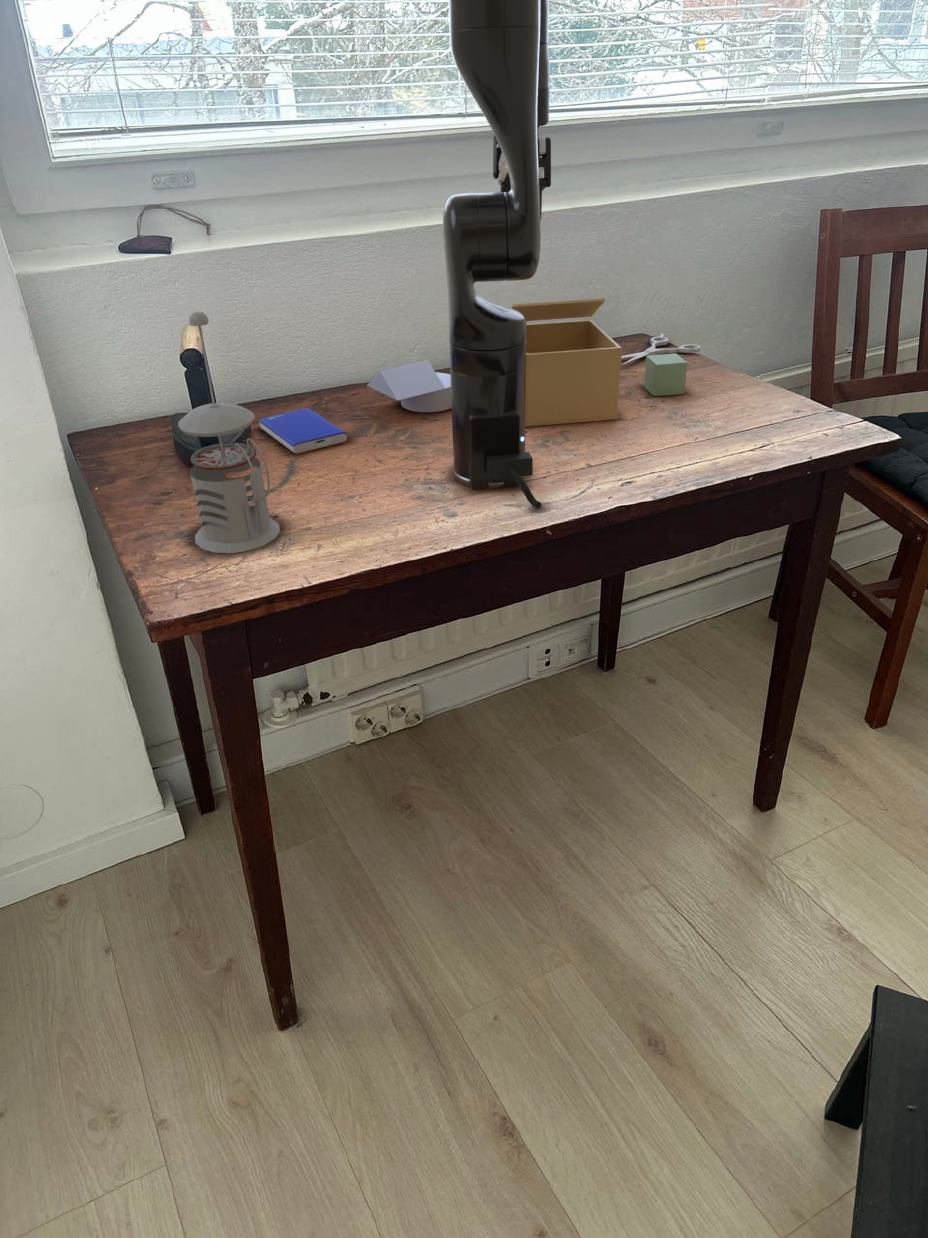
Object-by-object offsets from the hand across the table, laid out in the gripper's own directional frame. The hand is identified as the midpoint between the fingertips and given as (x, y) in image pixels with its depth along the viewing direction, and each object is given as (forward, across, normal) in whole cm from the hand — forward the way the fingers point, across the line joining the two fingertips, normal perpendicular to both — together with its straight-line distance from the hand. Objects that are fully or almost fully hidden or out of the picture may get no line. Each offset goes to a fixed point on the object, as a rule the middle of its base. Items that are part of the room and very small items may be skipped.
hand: (520, 217), depth 128 cm
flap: (+13, +2, +5) cm, 14 cm away
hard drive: (+26, +2, -35) cm, 44 cm away
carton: (+26, +6, +4) cm, 27 cm away
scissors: (+26, -10, +30) cm, 41 cm away
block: (+26, +7, +22) cm, 35 cm away
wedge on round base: (+26, -3, -16) cm, 31 cm away
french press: (+27, +30, -49) cm, 63 cm away
